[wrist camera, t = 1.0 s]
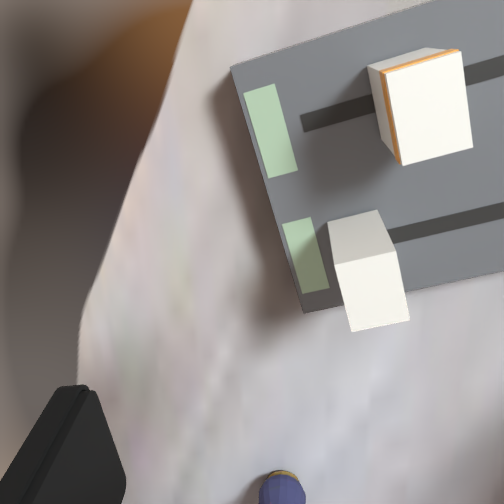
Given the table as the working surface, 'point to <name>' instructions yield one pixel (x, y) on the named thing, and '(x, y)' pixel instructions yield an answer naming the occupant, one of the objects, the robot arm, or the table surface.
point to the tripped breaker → (421, 104)
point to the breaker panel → (378, 163)
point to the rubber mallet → (282, 489)
